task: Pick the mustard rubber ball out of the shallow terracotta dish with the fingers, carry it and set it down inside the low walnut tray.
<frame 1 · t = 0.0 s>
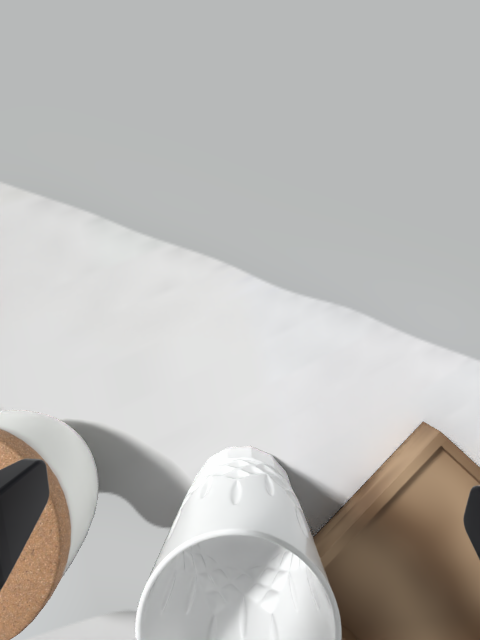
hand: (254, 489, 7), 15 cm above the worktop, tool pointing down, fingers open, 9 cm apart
lidded jar: (49, 466, 23), on the worktop
white cup: (242, 492, 23), on the worktop
tray: (423, 563, 22), on the worktop
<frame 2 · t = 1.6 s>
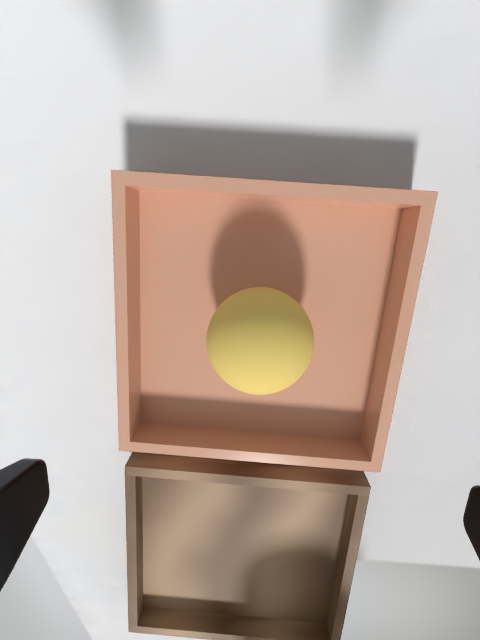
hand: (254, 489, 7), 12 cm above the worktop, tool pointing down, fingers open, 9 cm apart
ball: (258, 326, 18), point 1 cm above the worktop, touching dish
dish: (258, 323, 18), on the worktop
tray: (240, 537, 22), on the worktop
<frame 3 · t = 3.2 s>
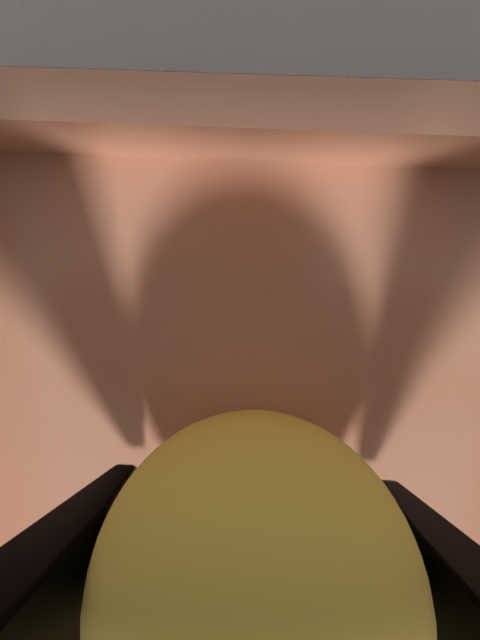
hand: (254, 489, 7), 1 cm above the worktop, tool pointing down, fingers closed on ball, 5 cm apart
ball: (253, 465, 8), point 1 cm above the worktop, touching dish, gripper
dish: (253, 449, 8), on the worktop
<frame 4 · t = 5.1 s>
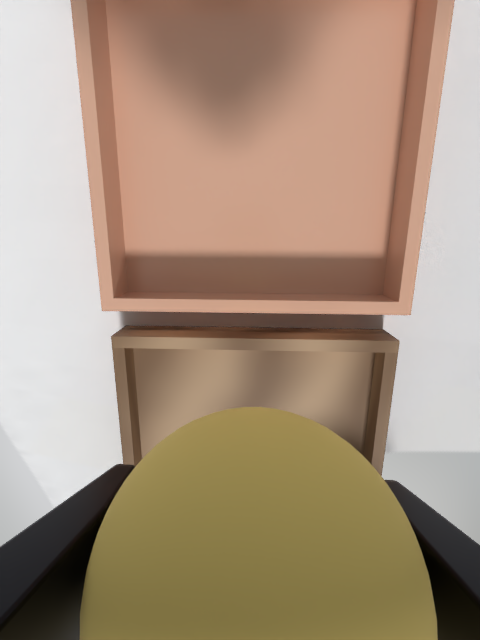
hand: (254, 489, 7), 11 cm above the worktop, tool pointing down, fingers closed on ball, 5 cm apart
ball: (253, 463, 8), point 11 cm above the worktop, touching gripper
dish: (256, 157, 16), on the worktop
tray: (251, 432, 20), on the worktop
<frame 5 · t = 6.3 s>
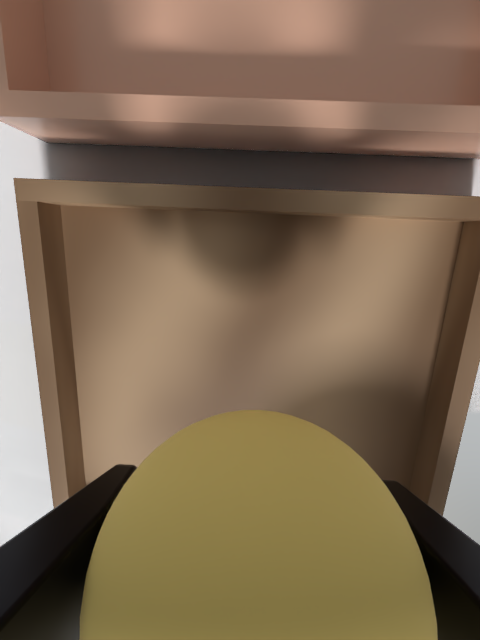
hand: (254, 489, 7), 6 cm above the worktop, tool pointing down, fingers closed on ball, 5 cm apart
ball: (253, 465, 8), point 5 cm above the worktop, touching gripper
tray: (250, 375, 13), on the worktop
when the fingers open (3 cm above the worktop, at t = 7.2 s): ball drops 1 cm, resting on tray.
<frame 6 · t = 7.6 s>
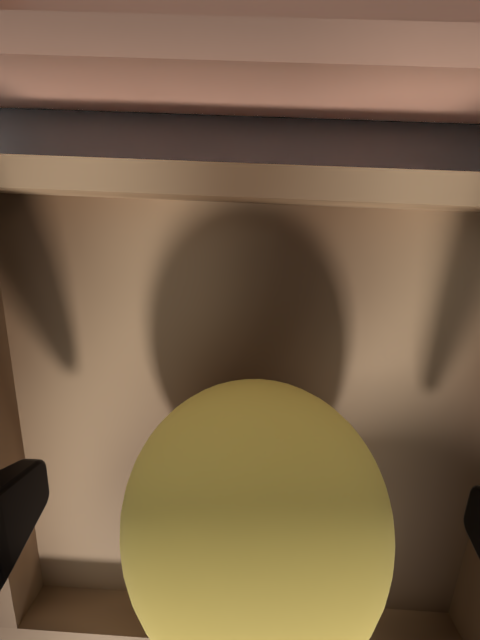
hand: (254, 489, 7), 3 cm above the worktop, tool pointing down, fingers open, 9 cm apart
ball: (253, 433, 9), point 1 cm above the worktop, touching tray
tray: (252, 418, 10), on the worktop
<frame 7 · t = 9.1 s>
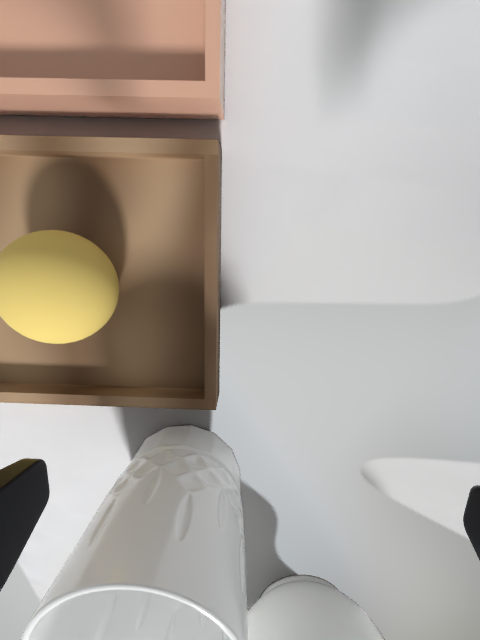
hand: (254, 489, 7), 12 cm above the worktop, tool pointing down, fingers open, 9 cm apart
ball: (85, 280, 17), point 1 cm above the worktop, touching tray
lidded jar: (300, 604, 24), on the worktop
white cup: (187, 468, 21), on the worktop
tray: (92, 279, 18), on the worktop
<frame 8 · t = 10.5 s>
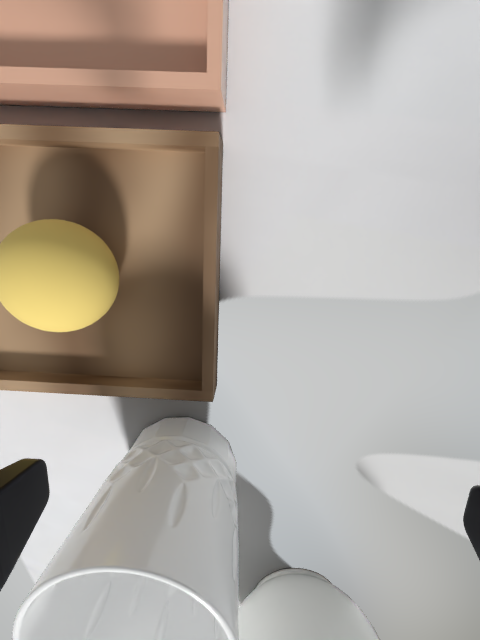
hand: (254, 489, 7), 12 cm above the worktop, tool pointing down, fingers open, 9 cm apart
ball: (85, 270, 17), point 1 cm above the worktop, touching tray
lidded jar: (294, 597, 24), on the worktop
white cup: (184, 460, 21), on the worktop
tray: (92, 269, 18), on the worktop
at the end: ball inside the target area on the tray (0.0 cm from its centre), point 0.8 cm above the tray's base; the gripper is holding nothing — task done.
